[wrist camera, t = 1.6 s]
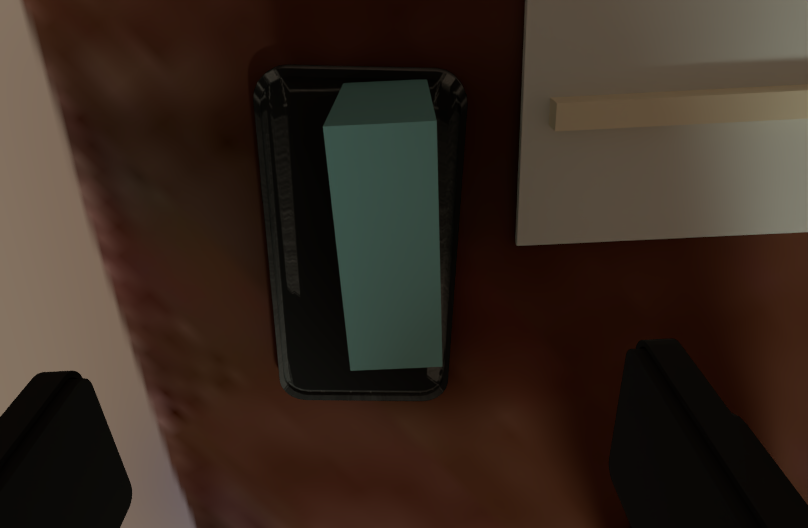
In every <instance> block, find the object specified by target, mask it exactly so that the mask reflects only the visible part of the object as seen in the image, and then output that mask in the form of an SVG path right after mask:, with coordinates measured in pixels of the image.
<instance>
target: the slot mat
mask: <svg viewBox="0 0 808 528" xmlns="http://www.w3.org/2000/svg"><path fill="white" fill-rule="evenodd" d="M796 232H808V0H525V16H524V40H523V64H522V88H521V113H520V137H519V161H518V185H517V209H516V233H515V243H516V245H517V246H526V245H547V244H568V243H588V242H609V241H630V240H651V239H672V238H692V237H713V236H734V235H755V234H775V233H796Z"/></svg>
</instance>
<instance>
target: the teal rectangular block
mask: <svg viewBox="0 0 808 528" xmlns="http://www.w3.org/2000/svg"><path fill="white" fill-rule="evenodd" d="M323 132H324V141H325V150H326V158H327V167H328V176H329V185H330V194H331V203H332V211H333V220H334V229H335V238H336V247H337V256H338V264H339V273H340V282H341V291H342V300H343V309H344V317H345V326H346V335H347V344H348V353H349V362H350V370H351V371H356V370H379V369H402V368H425V367H442V326H441V284H440V241H439V199H438V157H437V120H436V116H435V112H434V107H433V103H432V99H431V95H430V90H429V86H428V82H427V79H424V80H422V79H411V80H392V81H373V82H354V83H343V85H342V87H341V89H340V91H339V94H338V96H337V98H336V100H335V102H334V104H333V106H332V108H331V111H330V113H329V115H328V117H327V119H326V121H325V123H324V125H323Z"/></svg>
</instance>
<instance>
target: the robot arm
mask: <svg viewBox="0 0 808 528" xmlns="http://www.w3.org/2000/svg"><path fill="white" fill-rule="evenodd" d="M609 470H610V476H611V479H612V482H613V485H614V487H615V489H616V492H617V494H618V496H619V499H620V501H621V504H622V506H623V508H624V511H625V513H626V516H627V518H628V520H629V523H630V525H631V527H632V528H808V505H807V504H806V502H805V501H804V500H803V498H802V497H801V496H800V494H799V493H798V492H797V490H796V489H795V488H794V486H793V485H792V484H791V482H790V481H789V480H788V478H787V477H786V476H785V474H784V473H783V472H782V470H781V469H780V468H779V466H778V465H777V464H776V462H775V461H774V460H773V458H772V457H771V456H770V454H769V453H768V452H767V450H766V449H765V448H764V446H763V445H762V444H761V443H760V441H759V440H758V439H757V437H756V436H755V435H754V433H753V432H752V431H751V429H750V428H749V427H748V425H747V424H746V423H745V422H744V421H743V420H742V419H741V418H740V417H739V416H737V415H735V414H733V413H731V412H730V411H729V409H728V408H727V406H726V405H725V404H724V402H723V401H722V400H721V398H720V397H719V396H718V394H717V393H716V392H715V390H714V389H713V388H712V386H711V385H710V383H709V382H708V381H707V379H706V378H705V377H704V375H703V374H702V373H701V371H700V370H699V369H698V367H697V366H696V365H695V363H694V362H693V360H692V359H691V358H690V356H689V355H688V354H687V352H686V351H685V350H684V348H683V347H682V346H681V344H680V343H679V342H678V341H677V340H676V339H673V338H672V339H653V340H641V341H639V342H638V344H637V346H636V349H630V350H628V352H627V354H626V359H625V365H624V371H623V377H622V383H621V389H620V395H619V402H618V408H617V414H616V420H615V426H614V432H613V438H612V444H611V450H610V457H609ZM131 499H132V487H131V484H130V481H129V478H128V476H127V473H126V470H125V468H124V466H123V463H122V460H121V457H120V455H119V452H118V450H117V447H116V445H115V442H114V439H113V437H112V434H111V432H110V429H109V427H108V424H107V421H106V419H105V416H104V414H103V411H102V409H101V406H100V403H99V401H98V398H97V396H96V393H95V391H94V388H93V386H92V383H91V382H90V381H89V380H88V379H83V378H82V376H81V375H80V374H79V373H78V372H76V371H59V372H42V373H39V374H37V375H36V376H34V377H33V378H32V380H31V381H30V382H29V383H28V384H27V386H26V387H25V388H24V389H23V390H22V392H21V393H20V394H19V395H18V397H17V398H16V399H15V400H14V401H13V402H12V404H11V405H10V406H9V407H8V408H7V410H6V411H5V412H4V413H3V414H2V416H1V417H0V528H120V526H121V524H122V522H123V520H124V518H125V516H126V513H127V511H128V509H129V507H130V503H131Z"/></svg>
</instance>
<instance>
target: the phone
mask: <svg viewBox="0 0 808 528" xmlns="http://www.w3.org/2000/svg"><path fill="white" fill-rule="evenodd" d="M411 79H422V80H424V79H427V82H428V86H429V90H430V95H431V99H432V103H433V107H434V112H435V116H436V120H437V157H438V199H439V241H440V284H441V326H442V367H425V368H402V369H379V370H356V371H351V370H350V362H349V353H348V344H347V335H346V326H345V317H344V309H343V300H342V291H341V282H340V273H339V264H338V256H337V247H336V238H335V229H334V220H333V211H332V203H331V194H330V185H329V176H328V167H327V158H326V150H325V141H324V132H323V125H324V123H325V121H326V119H327V117H328V115H329V113H330V111H331V108H332V106H333V104H334V102H335V100H336V98H337V96H338V94H339V91H340V89H341V87H342V85H343V83H354V82H373V81H392V80H411ZM253 102H254V112H255V123H256V133H257V144H258V155H259V166H260V176H261V192H262V201H263V207H264V218H265V229H266V239H267V250H268V260H269V271H270V282H271V292H272V303H273V313H274V324H275V335H276V345H277V356H278V366H279V377H280V382H281V386H282V387H283V389H284V390H285V391H286V392H287V393H288V394H289V395H291V396H293V397H295V398H298V399H303V400H368V401H427V400H431V399H434V398H436V397H438V396H439V395H441V394H442V393H443V391H444V390H445V389H446V386H447V383H448V371H449V357H450V343H451V329H452V315H453V301H454V287H455V273H456V259H457V244H458V230H459V216H460V202H461V188H462V174H463V160H464V146H465V132H466V118H467V95H466V93H465V90H464V88H463V86H462V84H461V82H460V81H459V80H458V78H457V77H456V76H455V75H454V74H452V73H450V72H449V71H447V70H444V69H439V68H416V67H371V66H325V65H281V66H277V67H275V68H273V69H271V70H269V71H268V72H266V73H265V74H264V75H263V76H262V77H261V79H260V80H259V81H258V82H257V85H256V87H255V90H254V99H253Z"/></svg>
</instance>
